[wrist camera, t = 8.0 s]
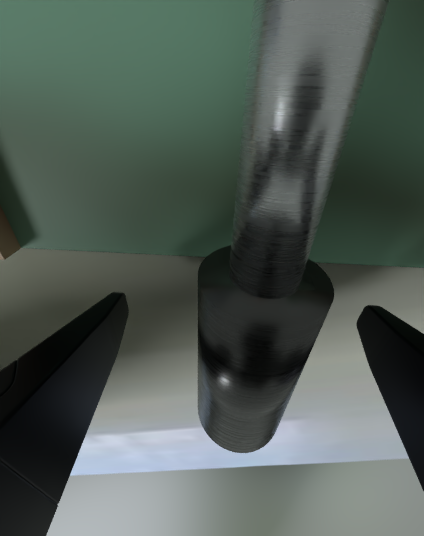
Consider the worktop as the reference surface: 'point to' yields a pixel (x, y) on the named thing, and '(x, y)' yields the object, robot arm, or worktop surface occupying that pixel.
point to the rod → (279, 213)
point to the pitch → (186, 132)
